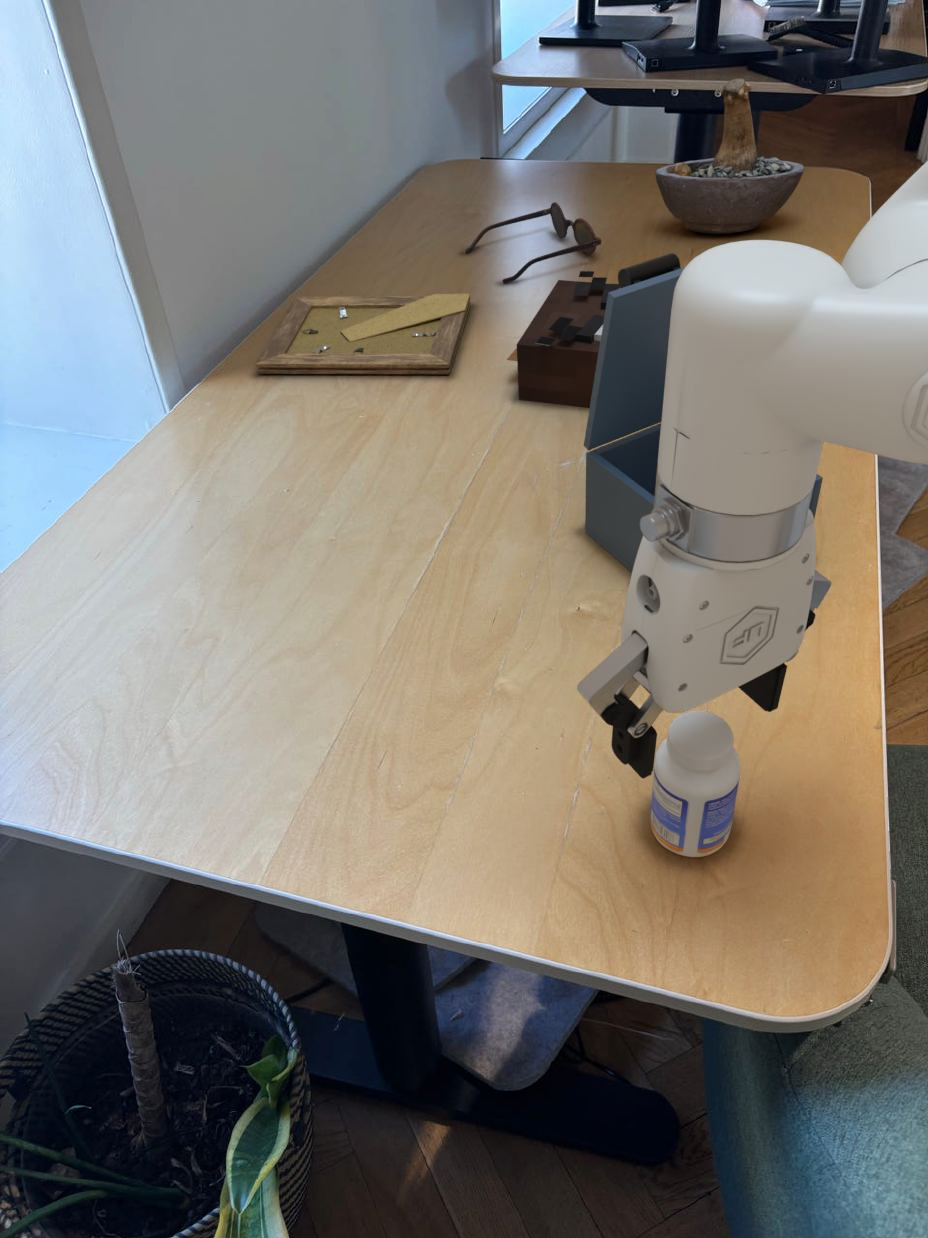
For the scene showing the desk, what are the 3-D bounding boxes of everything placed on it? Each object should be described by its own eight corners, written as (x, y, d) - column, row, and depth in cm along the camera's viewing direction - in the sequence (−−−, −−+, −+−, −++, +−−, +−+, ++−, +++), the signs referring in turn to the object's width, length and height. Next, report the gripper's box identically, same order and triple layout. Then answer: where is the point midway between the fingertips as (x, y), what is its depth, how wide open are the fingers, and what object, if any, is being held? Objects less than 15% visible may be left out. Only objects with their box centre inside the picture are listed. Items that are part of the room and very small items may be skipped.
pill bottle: (728, 798, 69) (744, 703, 63) (731, 863, 65) (750, 769, 59) (649, 792, 70) (657, 698, 64) (648, 856, 66) (657, 763, 60)
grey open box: (806, 560, 88) (823, 477, 82) (684, 618, 83) (693, 535, 77) (698, 483, 98) (706, 404, 92) (584, 532, 93) (585, 452, 87)
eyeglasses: (601, 261, 139) (601, 225, 135) (506, 286, 135) (504, 250, 131) (551, 228, 149) (550, 194, 145) (461, 251, 145) (459, 216, 141)
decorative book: (778, 367, 98) (491, 340, 107) (768, 433, 103) (495, 402, 112) (799, 286, 111) (542, 267, 120) (789, 348, 116) (543, 326, 125)
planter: (646, 233, 144) (654, 82, 131) (720, 200, 152) (735, 54, 138) (727, 260, 136) (745, 101, 122) (802, 224, 143) (826, 70, 130)
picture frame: (470, 306, 131) (298, 307, 134) (470, 293, 130) (295, 294, 133) (449, 376, 117) (258, 375, 121) (448, 362, 116) (255, 361, 120)
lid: (753, 250, 79) (713, 220, 82) (614, 297, 75) (577, 264, 77) (710, 402, 91) (676, 372, 94) (588, 450, 87) (556, 417, 89)
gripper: (636, 606, 44) (617, 833, 56) (912, 481, 50) (844, 710, 62) (544, 522, 49) (544, 746, 61) (805, 417, 55) (760, 640, 67)
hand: (695, 728), depth 61 cm, fingers open, 9 cm apart
